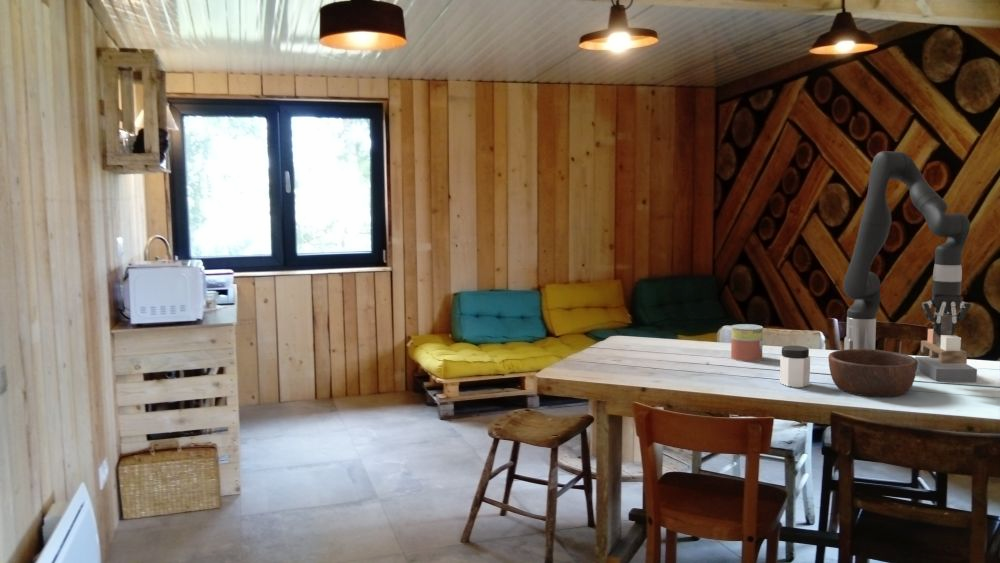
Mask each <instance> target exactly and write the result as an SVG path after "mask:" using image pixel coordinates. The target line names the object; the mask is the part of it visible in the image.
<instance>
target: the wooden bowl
mask: <svg viewBox="0 0 1000 563" xmlns="http://www.w3.org/2000/svg"><path fill="white" fill-rule="evenodd" d="M917 366H918V362H917V360H916V359H915V357H913V356H911V355H909V354H904V353H900V352H895V351H891V350H890V351H889V350H882V349H881V350H880V349H875V350H870V349H848V350H844V349H841V350H836V351H832V352H830V353H829V354H828V367H829V372H830V377H831V379H832V381H833V384H834V385H835V386H836V387H837V388H838V389H839V390H841V391H843V390H844V392H846V391H847V392H846V393H849V392H850V394H853V393H854V395H858V394H860V395H859V396H865V395H867V397H875V396H877V397H881V398H885V397H886V398H888V397H889V398H890V397H898V396H902V395H905V394H906V393H908V391H909V390H910V389H911V387H912V386H913V384H914V381H915V378H916V375H917V371H918V370H917Z"/></svg>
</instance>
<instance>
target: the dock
mask: <svg viewBox="0 0 1000 563" xmlns="http://www.w3.org/2000/svg"><path fill="white" fill-rule="evenodd" d="M914 358H915V359H916V360H917V362H918V366H917V371H919V372H921V373H922V374H923V375H926V376H927V377H928V378H931V379H932V380H933V381H935V382H969V383H971V382H975V383H976V382H977V379H978V378H977V376H978V375H977V374H978V369H977V368H976V367H974V366H971V365H969V364H968V363H967V364H952V363H940V362H938V360H939V358H931V357H929V356H915V357H914Z"/></svg>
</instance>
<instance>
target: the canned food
mask: <svg viewBox="0 0 1000 563" xmlns="http://www.w3.org/2000/svg"><path fill="white" fill-rule="evenodd" d="M763 330H764V327H763V326H762V325H758V324H753V323H752V324H751V323H750V324H749V323H740V324H739V323H738V324H731V334H730V335H731V339H730V340H731V341H730V342H731V344H730V345H731V350H730V358H731V359H732V360H734V361H737V362H738V361H739V362H747V363H749V362H750V363H751V362H752V363H753V362H759V361H762V360H764V359H763V341H764V339H763V338H764V336H763V335H764V334H763V333H764V331H763Z"/></svg>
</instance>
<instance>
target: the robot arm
mask: <svg viewBox="0 0 1000 563" xmlns="http://www.w3.org/2000/svg"><path fill="white" fill-rule="evenodd" d="M890 180H892V181H893V180H898V181H900V182H901V183H902V184H905V186H907V188H908V190H909V197H910V200H911V203H912V204H913V206H914V207H915V208H916V209H917V210H918V211H919V212H920V213H921V215H922V216H923V217H924V219H925V221H926V222H925V223H926V224H927V226H928V229H929V231H930V232H931V233H932V234H933V235H934V236H937V237H939V238H947V239H946V241H945V243H943V244H940V245H937V246H936V248H935V251H934V266H933V272H932V288H931V289H932V292H931V293H932V295H931V297H930V300H928V301H926V302H925V301H922V302H921V304H920V305H921V308H922V310H923V312H924V314H925V317H926V319H927V320H928V321H931V322H933V328H932V329H933V331H934V333H935V334H936V335H940V329H941V323H940V322H941V316H943V313H948V314H951V315H952V333H951V335H954V334H955V333H956V326H957V325H956V324H957V323H958V322H959V323H960V322H963V321H964V319H965V318H966V316H967V313H968V311H969V310H970V308H971V303H969V302H966V301H964V300H963V299H962V298H961V294H962V278H963V276H962V275H963V270H962V269H963V268H962V262H963V260H962V259H963V250H964V248H965V245H966V241H967V239H968V236H969V234H970V231H971V222H970V220H969V218H968V216H967V215H966V214H964V213H960V212H957V213H947V210H948V205H947V202H946V201H945V200H944V199H943V198H942V197H941V196H940V195H939V194H938V193H937V192H936V191H935V190H934V189H933V187H931V185H929V183H928V182H927V180H926V178H925V177H924V175H923V174H922V173H921V171H920V169H919V168H918V166H917V164H916V163H915V161H914V160H913V158H912V157H911V156H910V155H909V154H907V153H906V152H904V151H892V150H891V151H890V150H882V151H879V152H877V153H876V154H875V155H874V157H873V160H872V163H871V167H870V173H869V180H868V187H867V188H868V189H867V194H866V199H865V203H864V208H863V212H862V216H861V219H860V223H859V228H858V232H857V238H856V240H855V245H854V249H853V253H852V255H851V256H852V257H851V260H850V262H849V265H848V268H847V271H846V273H845V277H844V279H843V284H842V285H843V286H842V287H843V291H844V294H845V295H846V296H847V297H848V299H852V300H854V302H853V303H852V305H851V306H850V307H849V308H848V309H847V310H846V336H845V337H844V344H843V346H844V348H843V350H848V349H870V350H876V333H877V331H876V330H877V329H876V328H877V313H878V311H879V308H880V300H881V298H880V297H881V281H880V278H879V276H878V275H877V274H876V273H874V272H872V271H871V267H872V264H873V262H874V261H875V258H876V256H877V255H878V254H879V252H880V251H881V249H882V248H883V246H884V245H885V243H886V241H887V239H888V238H889V233H890V229H891V225H892V222H893V221H892V214H891V210H890V208H889V204H888V201H887V188H888V184H889V181H890ZM932 306H933V307H934V312H933V313H934V314H933V313H932V310H931V308H932ZM958 307H959V308H960V309H959V310H958V312H957V309H958Z"/></svg>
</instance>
